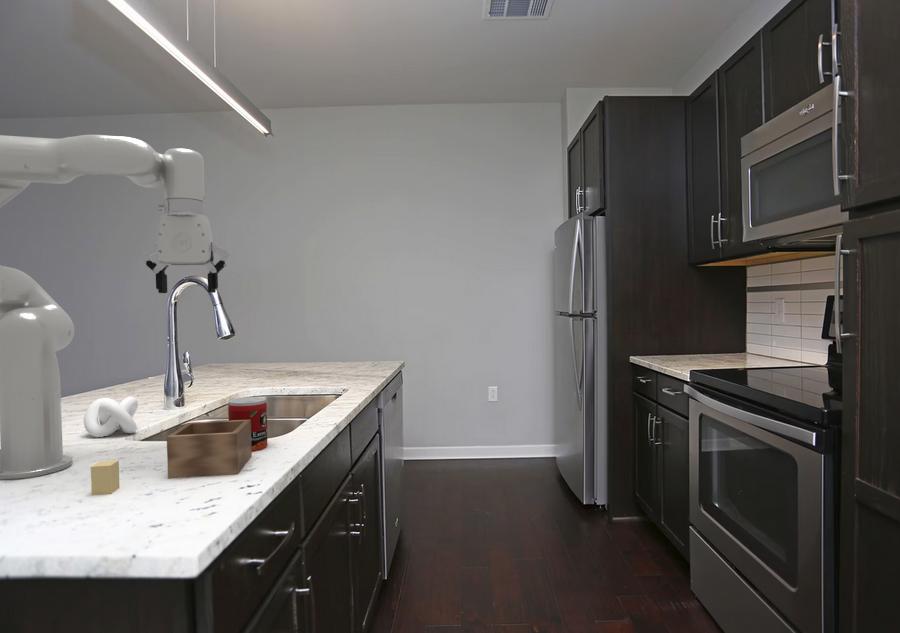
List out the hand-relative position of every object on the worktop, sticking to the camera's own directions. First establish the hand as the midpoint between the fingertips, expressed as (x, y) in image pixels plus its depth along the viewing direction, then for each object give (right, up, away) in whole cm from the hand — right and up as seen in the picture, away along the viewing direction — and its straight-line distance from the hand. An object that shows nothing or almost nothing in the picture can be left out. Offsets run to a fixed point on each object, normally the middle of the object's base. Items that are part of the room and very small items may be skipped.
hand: (187, 292), depth 112 cm
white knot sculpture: (-29, -35, +23) cm, 50 cm away
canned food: (+11, -34, +4) cm, 36 cm away
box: (+9, -34, -9) cm, 37 cm away
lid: (-3, -36, -22) cm, 42 cm away
